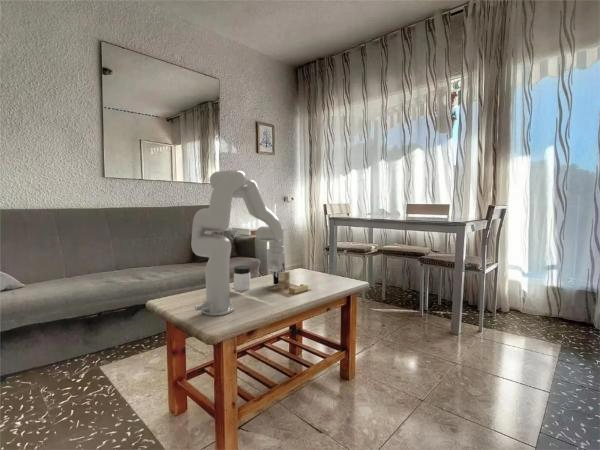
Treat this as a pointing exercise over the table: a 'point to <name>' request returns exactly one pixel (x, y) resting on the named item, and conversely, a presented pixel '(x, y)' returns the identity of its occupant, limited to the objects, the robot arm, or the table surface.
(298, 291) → the clip
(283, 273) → the tan block
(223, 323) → the table surface
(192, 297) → the table surface
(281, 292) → the board
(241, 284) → the jar
